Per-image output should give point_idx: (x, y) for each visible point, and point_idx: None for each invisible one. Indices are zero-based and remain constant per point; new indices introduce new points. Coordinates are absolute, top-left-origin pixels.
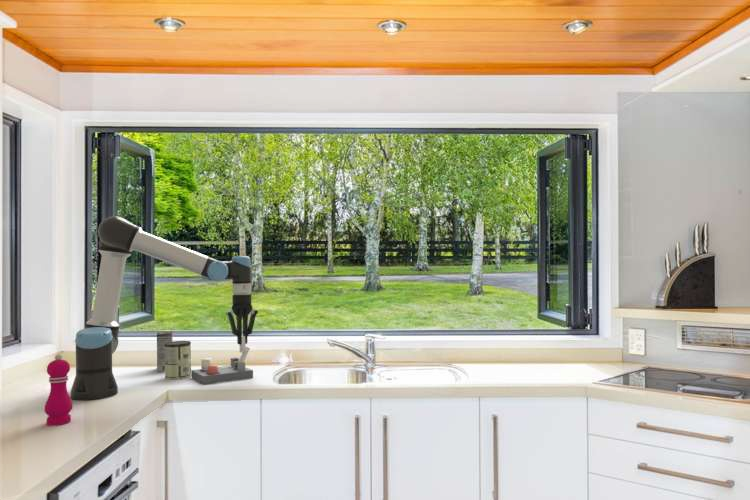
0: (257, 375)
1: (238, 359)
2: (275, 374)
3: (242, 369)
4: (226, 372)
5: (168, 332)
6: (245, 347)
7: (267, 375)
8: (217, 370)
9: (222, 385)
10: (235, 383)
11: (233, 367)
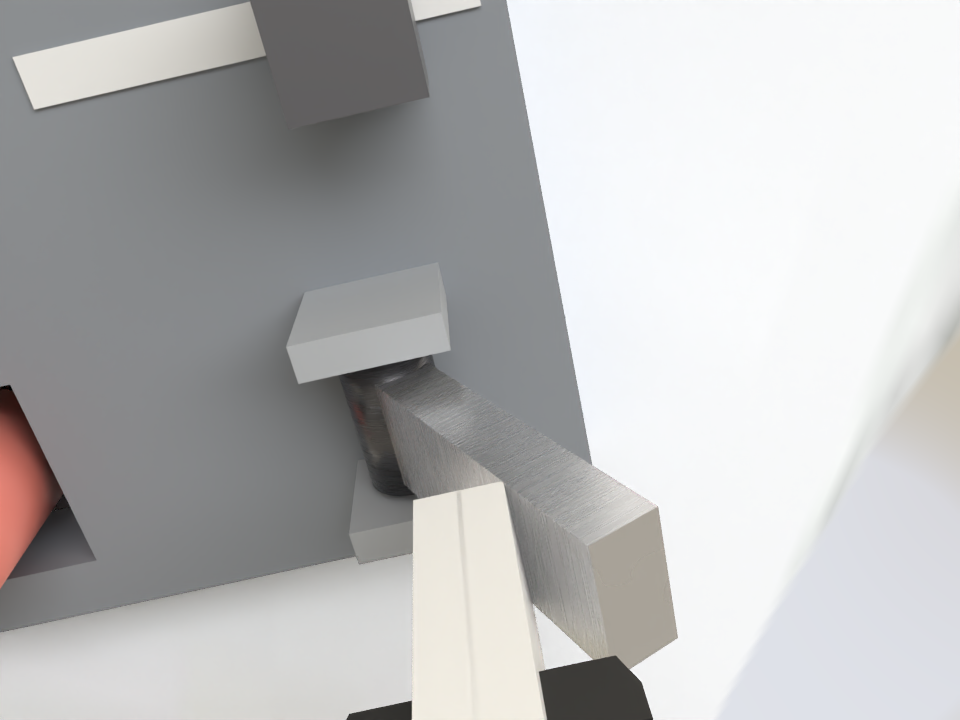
0: (677, 312)
1: (421, 98)
2: (928, 349)
3: None
4: (178, 524)
5: None
6: (581, 575)
7: (804, 372)
8: (15, 563)
9: (157, 717)
10: (313, 674)
11: None
